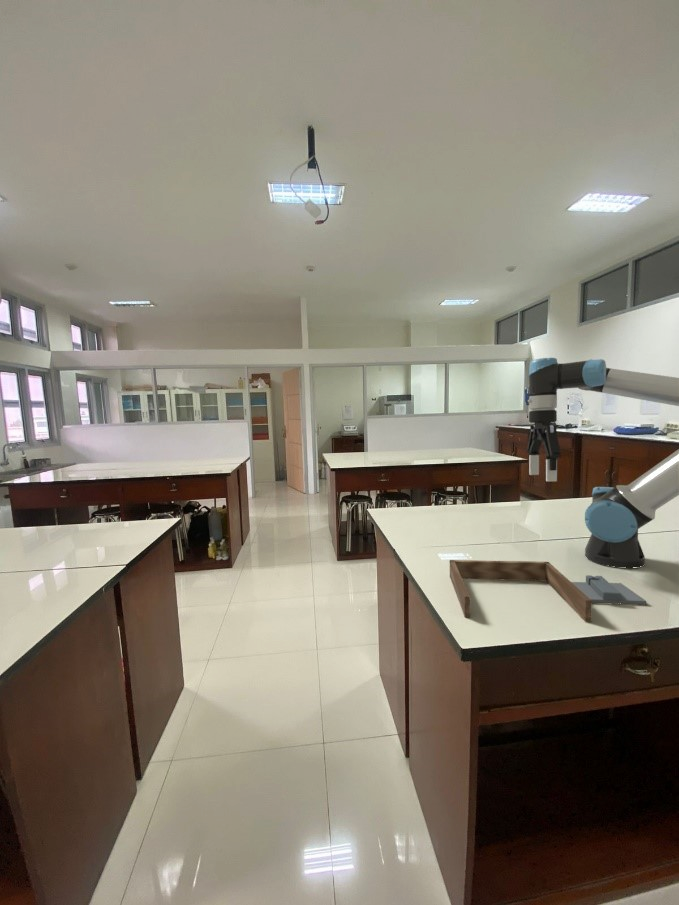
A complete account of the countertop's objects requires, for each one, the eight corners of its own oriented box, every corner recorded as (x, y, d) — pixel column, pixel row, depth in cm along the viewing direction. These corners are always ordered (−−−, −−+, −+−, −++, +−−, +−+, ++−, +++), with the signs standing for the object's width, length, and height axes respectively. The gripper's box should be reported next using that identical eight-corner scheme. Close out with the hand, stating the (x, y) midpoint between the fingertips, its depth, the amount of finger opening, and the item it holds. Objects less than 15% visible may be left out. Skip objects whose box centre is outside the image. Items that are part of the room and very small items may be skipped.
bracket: (603, 600, 89) (603, 592, 89) (585, 582, 100) (585, 574, 99) (622, 601, 89) (622, 593, 88) (601, 583, 99) (602, 575, 99)
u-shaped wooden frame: (548, 578, 105) (548, 561, 104) (591, 622, 82) (591, 600, 81) (449, 576, 108) (449, 560, 108) (464, 617, 86) (464, 596, 85)
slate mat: (620, 586, 98) (621, 583, 98) (646, 605, 88) (646, 601, 88) (564, 585, 100) (564, 581, 100) (582, 603, 90) (582, 599, 90)
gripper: (516, 411, 127) (516, 472, 129) (546, 408, 102) (545, 484, 104) (539, 410, 126) (539, 472, 128) (575, 407, 101) (574, 484, 103)
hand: (542, 477), depth 116 cm, fingers open, 13 cm apart
